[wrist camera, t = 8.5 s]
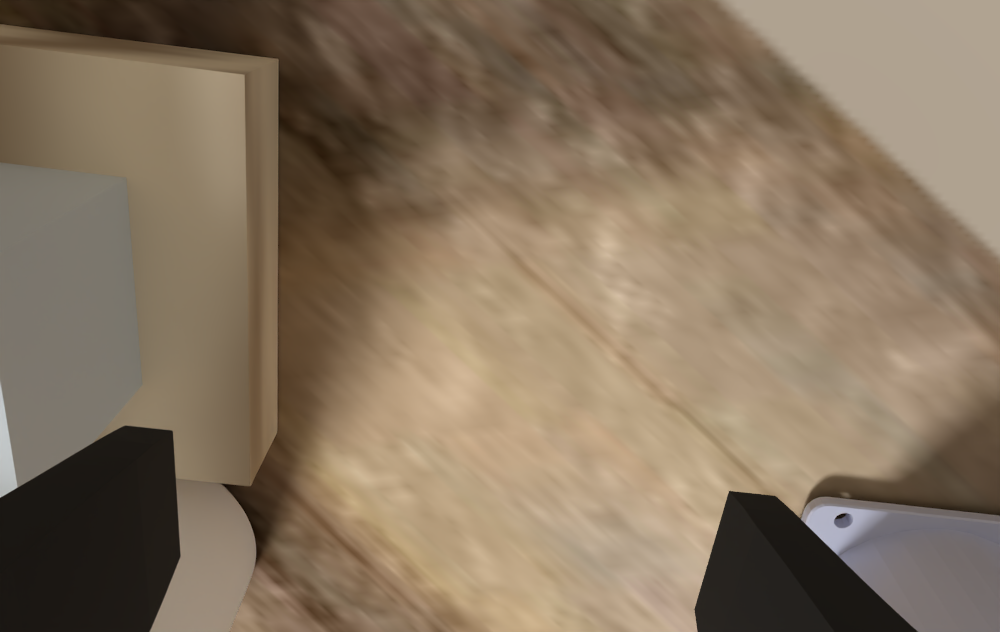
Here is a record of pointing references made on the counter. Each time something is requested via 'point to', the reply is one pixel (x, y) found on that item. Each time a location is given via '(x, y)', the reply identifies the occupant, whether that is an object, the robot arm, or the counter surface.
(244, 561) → the can
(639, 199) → the counter surface
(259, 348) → the base
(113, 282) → the block
